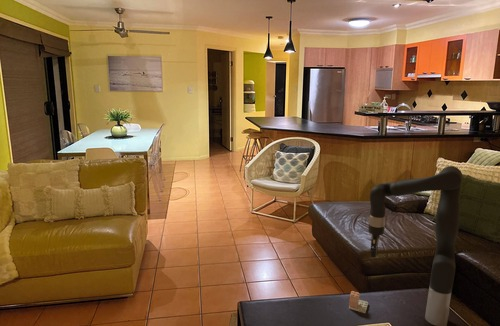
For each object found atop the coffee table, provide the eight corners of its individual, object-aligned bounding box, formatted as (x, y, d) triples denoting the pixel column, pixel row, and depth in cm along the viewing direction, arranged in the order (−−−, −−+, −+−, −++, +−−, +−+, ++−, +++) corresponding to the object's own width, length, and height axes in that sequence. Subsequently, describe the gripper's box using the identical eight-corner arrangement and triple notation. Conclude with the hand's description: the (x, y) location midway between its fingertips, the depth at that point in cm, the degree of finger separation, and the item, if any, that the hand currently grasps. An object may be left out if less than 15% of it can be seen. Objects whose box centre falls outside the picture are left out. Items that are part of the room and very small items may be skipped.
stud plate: (367, 304, 184) (368, 301, 183) (365, 313, 177) (365, 310, 177) (352, 299, 187) (352, 297, 187) (348, 308, 180) (349, 305, 180)
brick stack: (358, 303, 182) (359, 292, 180) (357, 308, 178) (358, 296, 177) (350, 301, 183) (351, 290, 182) (349, 305, 180) (350, 294, 178)
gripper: (383, 230, 171) (380, 261, 175) (386, 219, 184) (383, 248, 188) (366, 227, 174) (364, 258, 178) (370, 217, 187) (368, 246, 191)
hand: (374, 253), depth 183 cm, fingers open, 8 cm apart
